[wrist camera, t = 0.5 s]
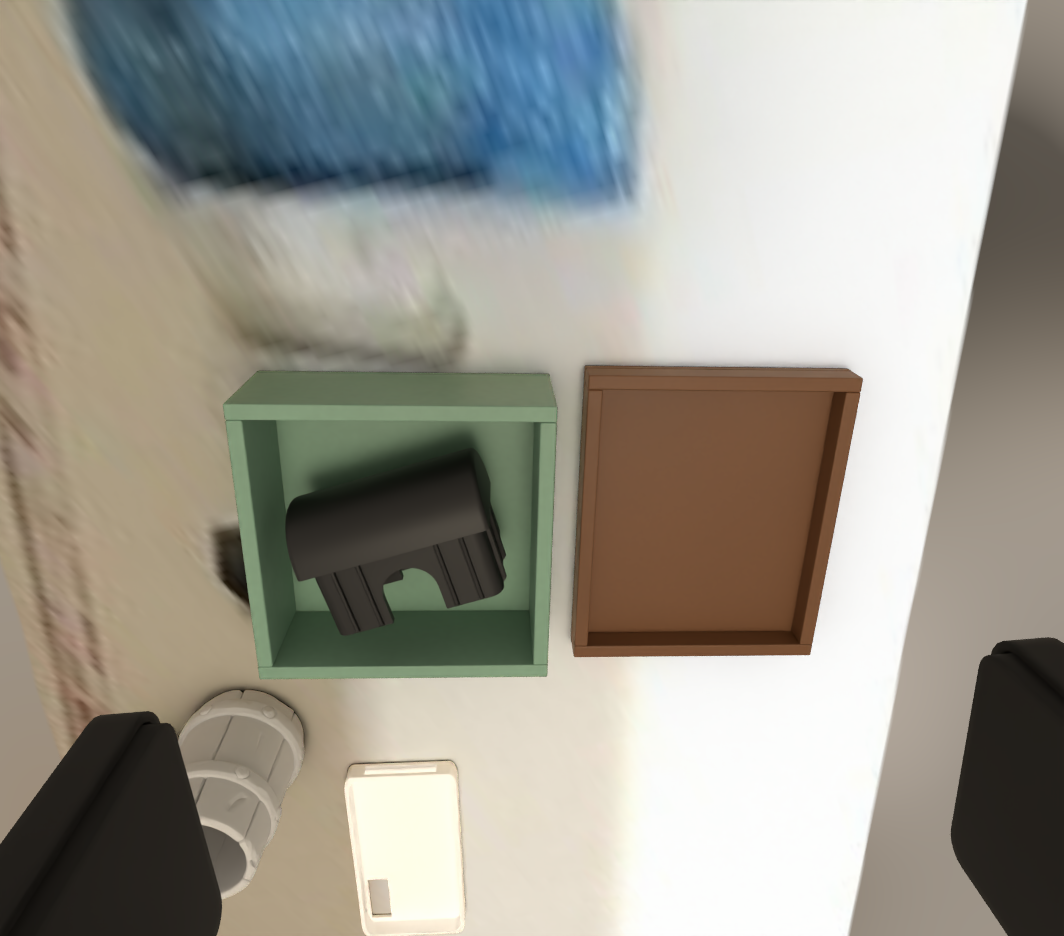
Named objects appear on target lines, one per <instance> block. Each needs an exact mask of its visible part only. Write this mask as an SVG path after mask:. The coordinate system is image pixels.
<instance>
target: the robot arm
mask: <svg viewBox="0 0 1064 936" xmlns="http://www.w3.org/2000/svg"><path fill="white" fill-rule="evenodd" d="M951 840H952V845H953V849H954V852H955V855H956V857H957V860H958V861H959V863H960V865H961V867H962V868H963V869H964V871H965V873H966V874H967V876H968V877H969V879H970V880H971V882H972V883H973V884H974V886H975V888H976V889H977V890H978V892H979V893H980V895H981V896H982V898H983V899H984V901H985V902H986V904H987V905H988V907H989V908H990V910H991V911H992V913H993V914H994V916H995V917H996V919H997V920H998V921H999V923H1000V925H1001V926H1002V927H1003V929H1004V930H1005V932H1006V933H1007V935H1008V936H1064V643H1062V642H1061V641H1059V640H1058V639H1055V638H1049V637H1048V638H1035V639H1023V640H1011V641H1002V642H1000V643H997V644H996V646H995V647H994V648H993V650H992V653H991V655H988V656H985V657H984V658H983V659H982V660H981V662H980V665H979V669H978V675H977V682H976V686H975V692H974V698H973V704H972V710H971V716H970V721H969V727H968V733H967V739H966V745H965V751H964V756H963V762H962V768H961V774H960V779H959V786H958V791H957V797H956V803H955V809H954V814H953V820H952V826H951ZM221 912H222V898H221V893H220V889H219V885H218V882H217V878H216V875H215V871H214V868H213V864H212V861H211V857H210V853H209V850H208V846H207V843H206V839H205V836H204V832H203V829H202V825H201V821H200V818H199V814H198V811H197V807H196V804H195V800H194V797H193V793H192V789H191V786H190V782H189V779H188V775H187V772H186V768H185V765H184V761H183V757H182V754H181V750H180V747H179V743H178V740H177V736H176V733H175V730H174V728H173V727H172V726H171V724H168V723H160V721H159V719H158V717H157V716H156V715H155V714H154V713H153V712H149V711H146V712H133V713H121V714H109V715H100V716H97V717H95V718H94V719H93V720H92V721H91V722H90V723H89V724H88V725H87V726H86V728H85V729H84V730H83V732H82V733H81V735H80V736H79V737H78V739H77V740H76V741H75V743H74V744H73V745H72V747H71V748H70V750H69V751H68V752H67V754H66V755H65V756H64V758H63V759H62V761H61V762H60V763H59V765H58V766H57V768H56V769H55V770H54V772H53V773H52V774H51V776H50V777H49V778H48V780H47V781H46V783H45V784H44V785H43V786H42V788H41V789H40V791H39V792H38V793H37V795H36V796H35V797H34V799H33V800H32V802H31V803H30V804H29V806H28V807H27V808H26V810H25V811H24V812H23V814H22V815H21V817H20V818H19V819H18V821H17V822H16V823H15V825H14V826H13V828H12V829H11V830H10V832H9V833H8V834H7V836H6V837H5V839H4V840H3V841H2V843H1V844H0V936H216V935H217V932H218V929H219V925H220V920H221Z"/></svg>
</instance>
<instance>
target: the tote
mask: <svg viewBox="0 0 1064 936" xmlns="http://www.w3.org/2000/svg"><path fill="white" fill-rule="evenodd" d="M223 409H224V417H225V420H226V421H225V422H226V430H227V437H228V445H229V452H230V460H231V467H232V475H233V482H234V490H235V497H236V505H237V512H238V520H239V527H240V534H241V542H242V549H243V557H244V564H245V572H246V579H247V587H248V594H249V602H250V609H251V617H252V624H253V632H254V639H255V647H256V654H257V662H258V666H259V667H258V670H259V678H260V679H344V678H447V677H546V676H547V668H548V664H547V663H548V641H549V615H550V589H551V563H552V536H553V510H554V484H555V457H556V431H557V423H556V422H557V404H556V400H555V396H554V392H553V388H552V384H551V380H550V375H549V374H497V373H403V372H309V371H257V372H256V373H255V374H254V375H253V376H252V377H251V378H250V379H249V380H248V381H247V382H246V383H245V384H244V385H243V386H242V387H241V388H240V389H238V390H237V391H236V392H235V393H234V394H233V395H232V396H231V397H230V398H229V399H228V400H227V401H226V402H225V403H224V404H223ZM467 448H473V449H475V450H476V451H477V452H478V453H479V455H480V457H481V459H482V461H483V463H484V465H485V468H486V471H487V473H488V476H489V479H490V482H491V498H490V502H491V505H492V508H493V511H494V514H495V517H496V520H497V523H498V526H499V529H500V538H501V541H502V544H503V547H504V550H505V553H506V557H505V558H504V560H503V566H504V569H505V572H506V575H507V577H506V579H505V581H504V589H503V590H502V592H501V593H499V594H498V595H496V596H493V597H489V598H486V599H482V600H478V601H475V602H471V603H467V604H463V605H460V606H456V607H452V608H449V609H447V607H446V605H445V602H444V599H443V597H442V594H441V592H440V589H439V586H438V584H437V582H436V581H435V579H434V578H433V577H432V576H431V575H430V574H428V573H427V572H425V571H423V570H420V569H415V568H411V569H407V570H403V571H402V573H403V575H404V576H403V580H400V581H396V582H392V583H389V584H385V585H384V593H385V596H386V599H387V601H388V604H389V606H390V608H391V611H392V613H393V616H394V618H395V619H394V623H393V624H389V625H385V626H381V627H378V628H374V629H370V630H367V631H363V632H359V633H355V634H352V635H347V636H343V635H341V634H340V632H339V630H338V628H337V626H336V624H335V621H334V619H333V617H332V615H331V613H330V610H329V608H328V606H327V604H326V602H325V599H324V597H323V595H322V593H321V590H320V588H319V586H318V584H317V582H316V579H315V578H312V579H308V580H305V581H300V582H299V581H298V580H297V578H296V576H295V573H294V571H293V568H292V564H291V561H290V558H289V553H288V549H287V543H286V533H285V519H286V513H287V509H288V507H289V504H290V502H291V501H292V500H293V499H294V498H296V497H298V496H300V495H304V494H308V493H311V492H315V491H318V490H322V489H325V488H329V487H332V486H336V485H340V484H343V483H347V482H350V481H354V480H357V479H361V478H364V477H368V476H371V475H375V474H379V473H382V472H386V471H389V470H393V469H396V468H400V467H403V466H407V465H411V464H414V463H418V462H421V461H425V460H428V459H432V458H435V457H439V456H443V455H446V454H450V453H453V452H457V451H460V450H464V449H467Z"/></svg>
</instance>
